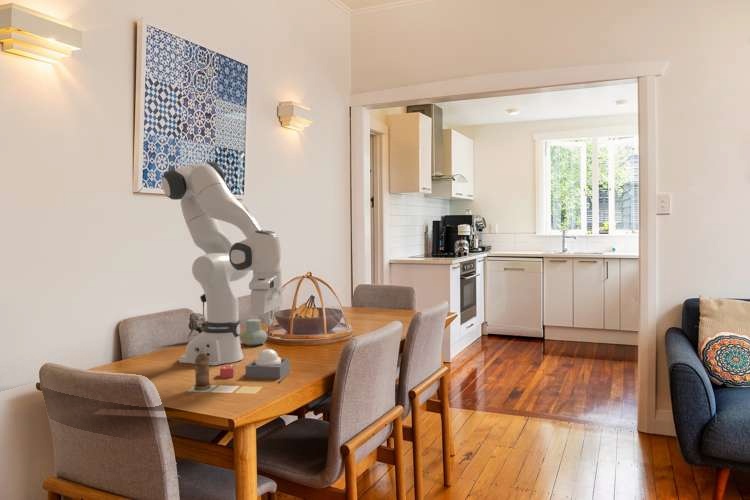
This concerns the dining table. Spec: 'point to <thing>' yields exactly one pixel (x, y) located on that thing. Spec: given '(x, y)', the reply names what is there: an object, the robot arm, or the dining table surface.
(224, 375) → the red die
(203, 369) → the walnut pawn
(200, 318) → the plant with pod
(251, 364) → the base
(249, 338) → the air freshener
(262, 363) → the dome
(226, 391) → the game board
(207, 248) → the robot arm
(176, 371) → the dining table surface
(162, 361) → the dining table surface
